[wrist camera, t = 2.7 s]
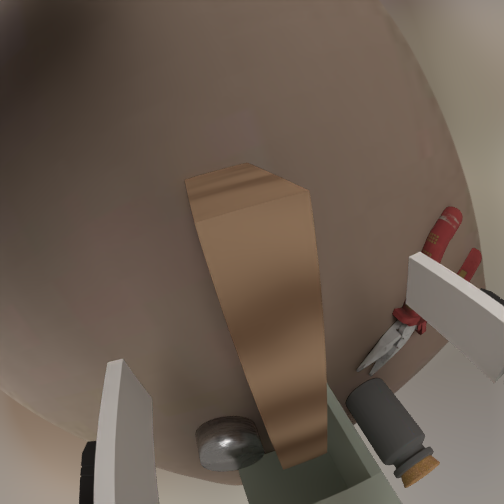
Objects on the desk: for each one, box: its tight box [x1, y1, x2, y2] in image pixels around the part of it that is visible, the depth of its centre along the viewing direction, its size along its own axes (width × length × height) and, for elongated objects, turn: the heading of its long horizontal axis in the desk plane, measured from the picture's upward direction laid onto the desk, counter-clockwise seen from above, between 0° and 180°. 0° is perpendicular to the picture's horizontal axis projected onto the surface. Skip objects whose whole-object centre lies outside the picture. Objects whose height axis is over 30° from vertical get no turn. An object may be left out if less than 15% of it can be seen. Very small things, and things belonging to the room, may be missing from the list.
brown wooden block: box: [185, 163, 327, 470], centre depth 18 cm, size 22×4×9 cm, turn 12°
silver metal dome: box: [195, 416, 264, 471], centre depth 27 cm, size 7×7×4 cm
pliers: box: [357, 207, 482, 377], centre depth 27 cm, size 12×20×3 cm, turn 144°
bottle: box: [346, 378, 440, 488], centre depth 26 cm, size 6×6×15 cm
